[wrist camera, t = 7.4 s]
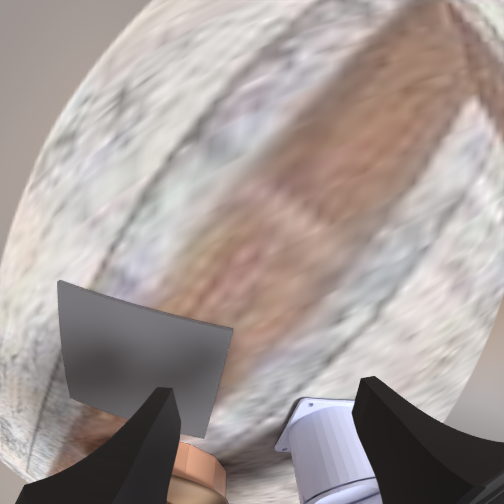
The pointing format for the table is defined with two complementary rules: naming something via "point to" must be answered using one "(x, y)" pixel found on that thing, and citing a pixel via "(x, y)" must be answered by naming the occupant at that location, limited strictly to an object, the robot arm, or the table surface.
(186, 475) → the bowl
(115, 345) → the mat
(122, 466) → the robot arm
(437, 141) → the table surface
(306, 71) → the table surface
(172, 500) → the lid
